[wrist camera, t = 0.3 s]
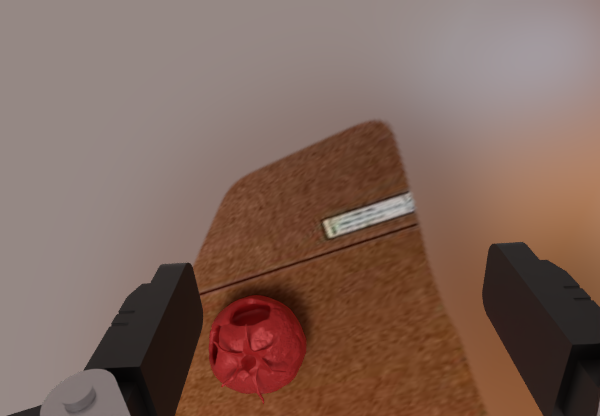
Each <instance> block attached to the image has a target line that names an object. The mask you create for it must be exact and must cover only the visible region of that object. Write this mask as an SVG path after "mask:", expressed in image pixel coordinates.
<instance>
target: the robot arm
mask: <svg viewBox="0 0 600 416" xmlns="http://www.w3.org/2000/svg"><path fill="white" fill-rule="evenodd" d="M482 297H483V304H484V308H485V311H486V314H487V316H488V317H489V319H490V321H491V323H492V325H493V326H494V328H495V330H496V332H497V334H498V335H499V337H500V339H501V341H502V342H503V344H504V346H505V348H506V350H507V351H508V353H509V355H510V357H511V359H512V360H513V362H514V364H515V366H516V367H517V369H518V371H519V373H520V375H521V376H522V378H523V380H524V382H525V384H526V385H527V387H528V389H529V391H530V393H531V394H532V396H533V398H534V399H535V402H536V403H537V405H538V407H539V409H540V410H541V412H542V414H543V416H600V307H599V306H598V305H597V304H596V303H595V302H594V301H592V300H591V299H590V298H591V297H590V296H589V295H588V294H587V293H586V292H585V291H584V290H583V289H582V288H580V287H579V284H578V283H577V282H576V281H575V280H574V279H573V278H572V277H571V276H570V275H569V274H568V273H567V272H566V271H565V270H563V269H561V268H560V267H558V266H556V265H555V264H553V263H551V262H550V261H548V260H539V259H538V257H537V256H536V255H535V254H534V253H533V252H532V251H531V250H530V248H529V247H528V246H527V245H526V244H525V243H523V242H515V243H499V244H492V245H491V246H490V248H489V251H488V257H487V264H486V270H485V277H484V284H483V292H482ZM111 324H112V326H111V327H109V328H108V330H107V332H106V334H105V335H104V337H103V338H102V340H101V342H100V344H99V345H98V347H97V349H96V350H95V352H94V354H93V355H92V357H91V359H90V360H89V362H88V364H87V366H86V367H85V369H84V371H82V372H79V373H77V374H74V375H72V376H70V377H68V378H67V379H65V380H64V381H62V382H61V383H60V384H58V385H57V386H56V387H55V388H54V389H53V390H52V391H51V392H50V393H49V394H48V396H47V397H46V399H45V400H44V402H43V404H42V405H40V406H37V407H34V408H31V409H27V410H24V411H21V412H18V413H14V414H11V415H8V416H175V413H176V410H177V406H178V403H179V400H180V397H181V394H182V391H183V387H184V384H185V381H186V378H187V375H188V371H189V368H190V365H191V362H192V359H193V356H194V352H195V349H196V346H197V343H198V340H199V336H200V333H201V330H202V325H203V308H202V304H201V299H200V295H199V291H198V287H197V283H196V279H195V275H194V271H193V267H192V265H191V264H190V263H176V264H162V265H160V267H159V268H158V270H157V272H156V274H155V276H154V277H153V279H152V281H151V283H148V284H142V285H140V286H139V287H138V288H137V289H136V290H135V291H133V292H132V293H131V294H130V295H129V296H128V297H127V298H126V300H125V301H124V303H123V305H122V306H121V308H120V310H119V314H117V315H116V317H115V318H114V320H113V322H112V323H111Z"/></svg>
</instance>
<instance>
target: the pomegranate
mask: <svg viewBox="0 0 600 416" xmlns="http://www.w3.org/2000/svg"><path fill="white" fill-rule="evenodd" d="M209 336H210V337H209V338H210V343H209V361H210V364H211V368H212V371H213V373H214V375H215V376H216V378H217V379H218V380H219V381H220V382H222V383H223V384H222V386H221V387H223V386H225V385H226V386H227V387H229V388H231V389H233V390H235V391H238V392H241V393H246V394H251V393H257V394H258V395H259V396H260V398H261V399H262V401H263V404H264V399H263V397H262V395H261V394H264V393H271V392H274V391H277V390H278V389H280V388H282V387H283V386H285V385H287V384H288V383H290V382H291V381H292V380H293V379H294V378H295V376H296V375H297V372H298V370H299V368H300V366H301V364H302V362H303V359H304V356H305V354H306V337H305V335H304V333H303V329H302V327H301V324H300V323H299V321H298V319H297V318H296V316H295V315H294V313H293V312H292V311H291V310H290V308H288V307H287V306H286V305H284V304H282V303H281V302H279V301H276V300H274V299H272V298H269V297H266V296H260V295H251V296H248V297H245V298H242V299H238V300H236V301H234V302H232V303H231V304H230V305H228V306H227V307H226V308H224V309H223V310H222V311H221V312H220V313H219V314H218V316H217V317H216V318H215V320H214V322H213V324H212V329H211V331H210V335H209ZM260 393H261V394H260Z"/></svg>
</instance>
